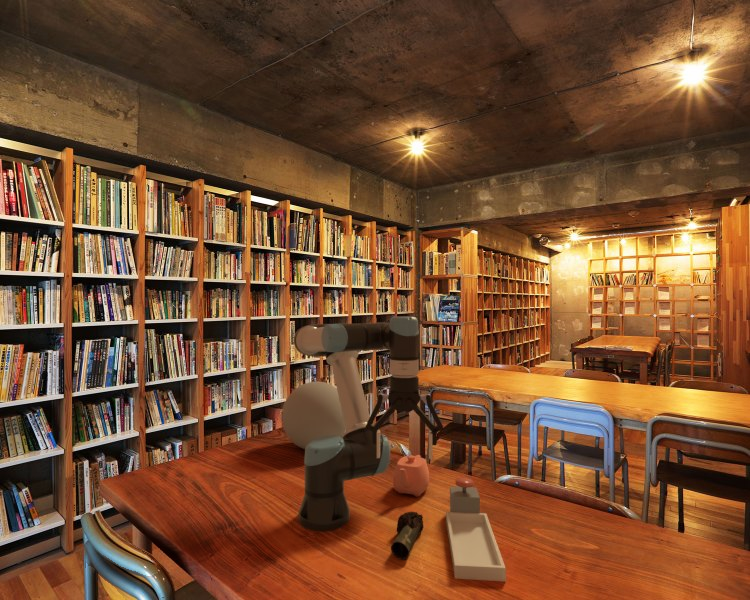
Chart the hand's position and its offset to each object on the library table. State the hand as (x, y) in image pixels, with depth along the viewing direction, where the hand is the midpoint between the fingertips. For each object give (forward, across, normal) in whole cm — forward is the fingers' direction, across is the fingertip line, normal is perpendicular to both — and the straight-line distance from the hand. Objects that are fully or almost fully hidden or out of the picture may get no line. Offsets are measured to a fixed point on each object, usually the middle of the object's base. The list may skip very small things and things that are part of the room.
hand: (404, 457), depth 109 cm
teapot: (+25, +2, +36) cm, 44 cm away
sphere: (+25, -40, +77) cm, 90 cm away
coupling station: (+25, +18, +2) cm, 30 cm away
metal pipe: (+27, -1, -2) cm, 27 cm away
